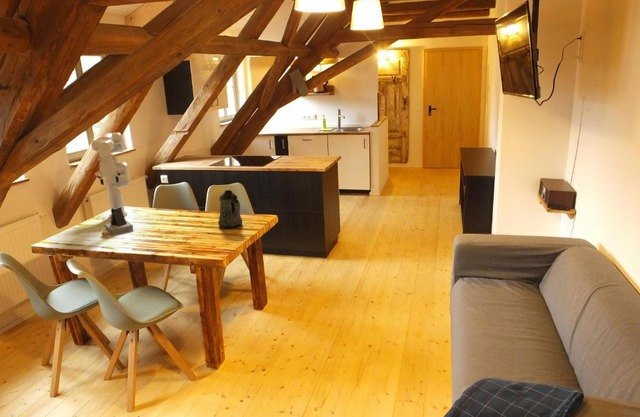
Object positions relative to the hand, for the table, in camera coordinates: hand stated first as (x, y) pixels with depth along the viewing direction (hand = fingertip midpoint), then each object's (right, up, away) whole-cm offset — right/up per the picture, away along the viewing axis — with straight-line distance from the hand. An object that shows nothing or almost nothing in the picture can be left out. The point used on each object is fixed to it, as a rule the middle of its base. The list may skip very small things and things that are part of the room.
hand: (110, 183), depth 326 cm
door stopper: (+8, -29, -4) cm, 30 cm away
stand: (+8, -32, -4) cm, 33 cm away
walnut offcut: (+4, -36, -15) cm, 39 cm away
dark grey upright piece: (+86, -30, -2) cm, 91 cm away
